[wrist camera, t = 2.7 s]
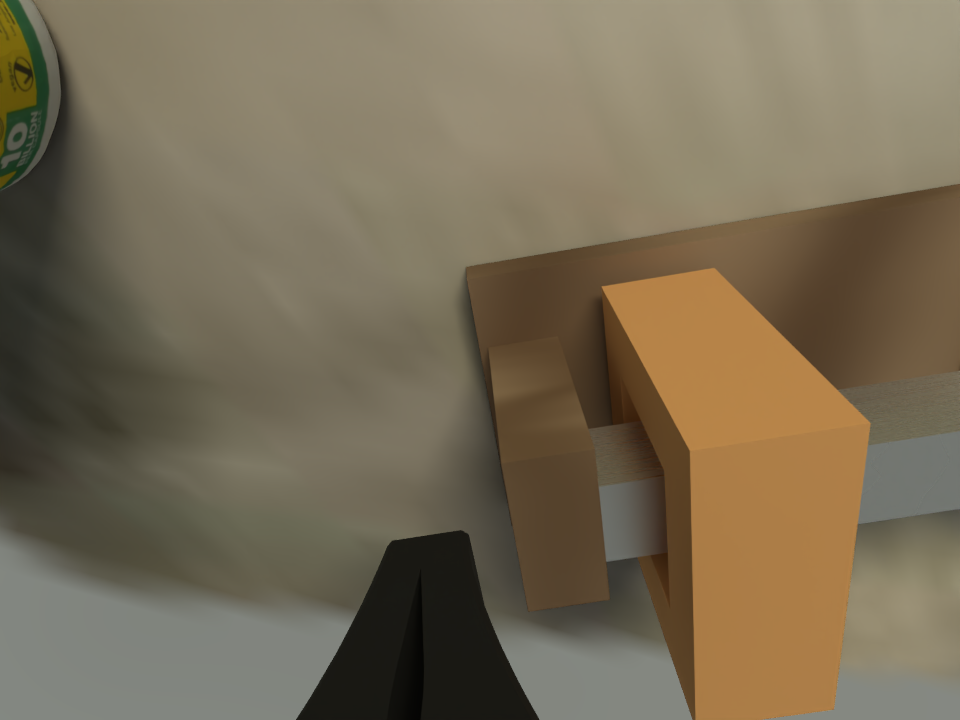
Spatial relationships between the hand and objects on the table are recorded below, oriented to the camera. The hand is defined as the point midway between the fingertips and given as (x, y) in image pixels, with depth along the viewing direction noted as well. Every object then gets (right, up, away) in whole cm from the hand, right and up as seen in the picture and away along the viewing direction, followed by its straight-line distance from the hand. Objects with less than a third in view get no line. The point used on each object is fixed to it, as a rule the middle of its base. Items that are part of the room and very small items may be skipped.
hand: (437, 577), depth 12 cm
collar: (+5, +3, +4) cm, 7 cm away
